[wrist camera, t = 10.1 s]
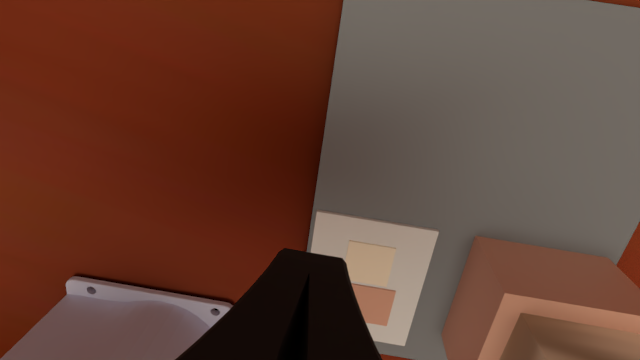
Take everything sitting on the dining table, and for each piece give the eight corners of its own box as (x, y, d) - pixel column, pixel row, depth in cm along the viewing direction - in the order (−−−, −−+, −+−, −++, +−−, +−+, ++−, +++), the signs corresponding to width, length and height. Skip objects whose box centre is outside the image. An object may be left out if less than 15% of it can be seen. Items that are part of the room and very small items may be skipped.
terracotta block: (441, 334, 20) (459, 405, 17) (475, 235, 18) (504, 292, 14) (557, 354, 20) (601, 430, 17) (607, 257, 18) (672, 321, 14)
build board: (296, 324, 22) (293, 338, 22) (349, -33, 15) (348, -36, 14) (545, 368, 22) (553, 383, 21) (720, 22, 15) (744, 23, 14)
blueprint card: (299, 324, 21) (298, 329, 21) (317, 209, 18) (316, 212, 18) (404, 343, 21) (404, 347, 21) (438, 229, 18) (439, 232, 18)
